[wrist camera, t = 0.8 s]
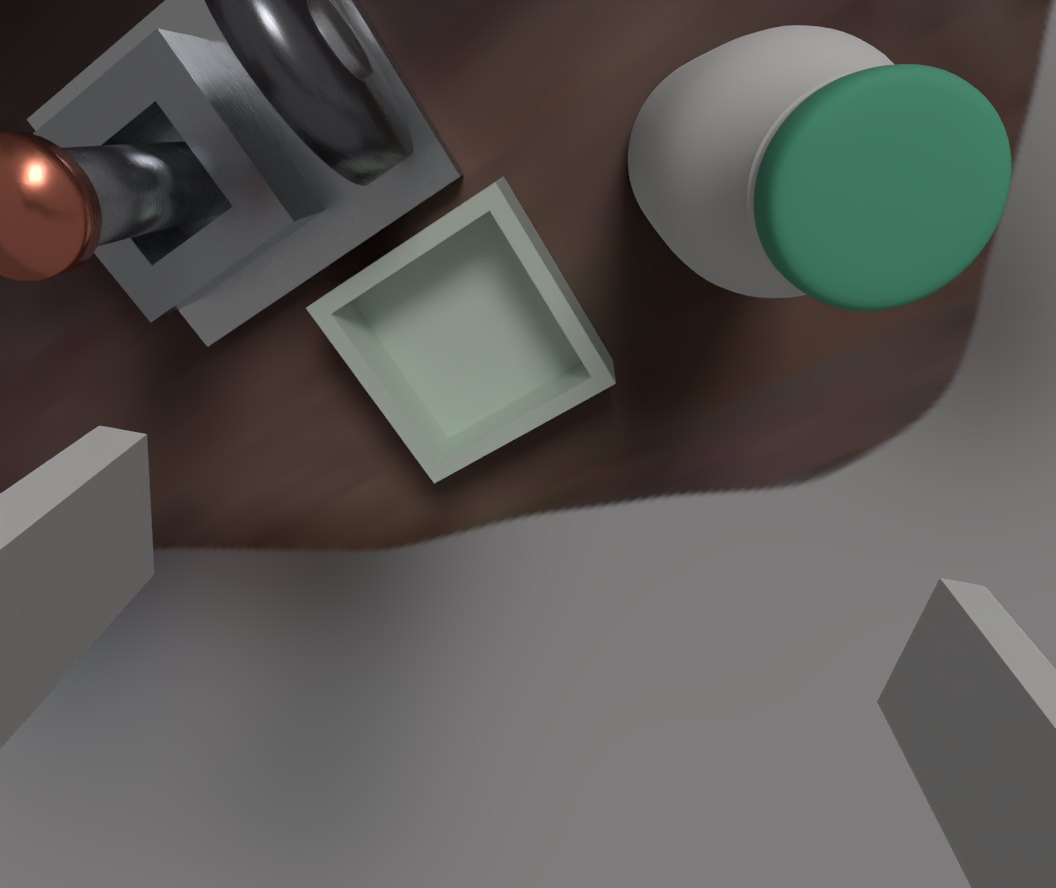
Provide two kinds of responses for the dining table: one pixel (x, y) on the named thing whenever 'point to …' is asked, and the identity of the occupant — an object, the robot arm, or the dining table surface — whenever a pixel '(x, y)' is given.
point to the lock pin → (92, 199)
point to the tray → (466, 334)
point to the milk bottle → (819, 169)
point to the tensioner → (255, 146)
